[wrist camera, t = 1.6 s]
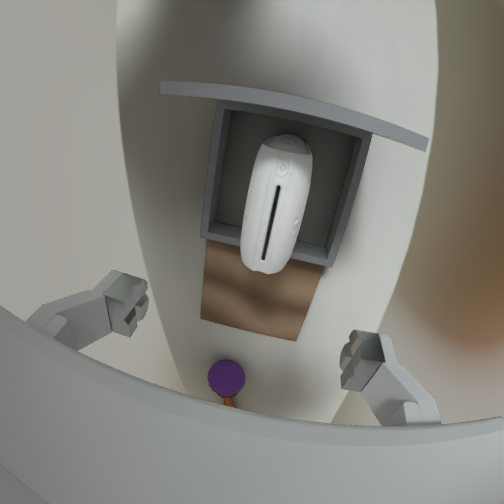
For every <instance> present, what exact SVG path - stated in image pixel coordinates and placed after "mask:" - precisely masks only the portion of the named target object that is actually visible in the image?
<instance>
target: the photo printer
mask: <svg viewBox="0 0 504 504" xmlns="http://www.w3.org/2000/svg"><path fill="white" fill-rule="evenodd" d="M312 161H313V160H312V153H311V150H310V147H309V144H308V143H305V142H303V140H302V139H301V138H299V137H298V136H296V135H293V134H282V135H279V136H275V135H274V136H272V137H270V138H269V139H268V140H266V141H265V142H264V143H262V145H261V147H260V149H259V151H258V154H257V157H256V160H255V163H254V167H253V171H252V175H251V180H250V184H249V189H248V194H247V200H246V205H245V211H244V217H243V224H242V232H241V242H240V250H241V258H242V261H243V263H244V264H245V266H247V267H248V268H249V269H251V270H253V271H260V272H263V273H265V274H274V273H277V272H279V271H281V270H282V269H283V268H284V266H285V265H286V263H287V262H288V260H289V259H290V256H291V254H292V251H293V248H294V245H295V243H296V239H297V236H298V233H299V230H300V226H301V222H302V219H303V215H304V211H305V207H306V202H307V198H308V194H309V189H310V183H311V175H312Z"/></svg>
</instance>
